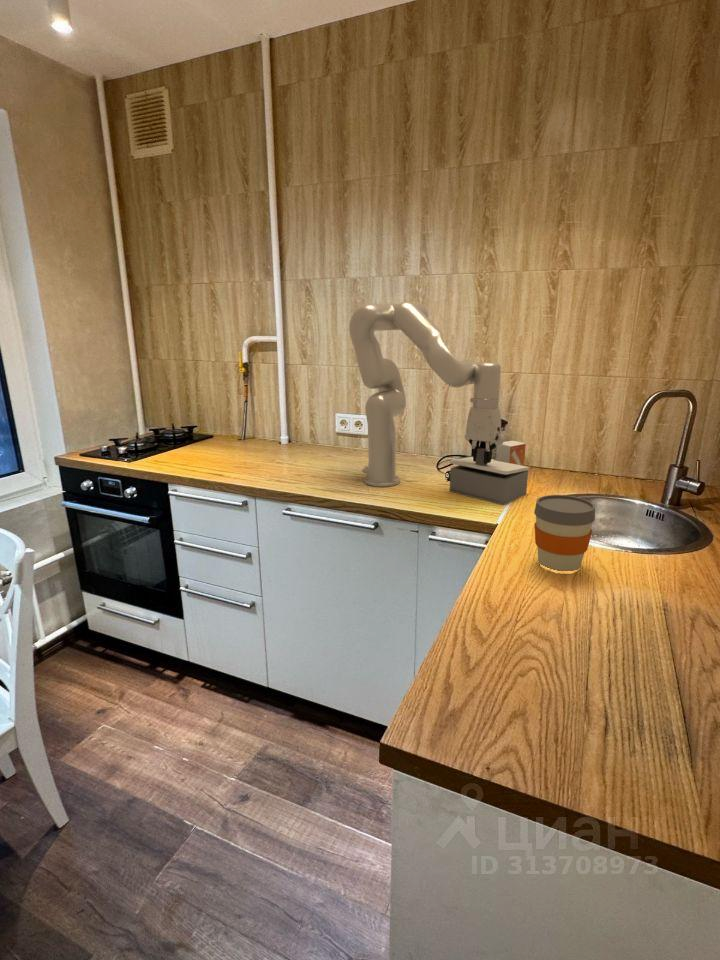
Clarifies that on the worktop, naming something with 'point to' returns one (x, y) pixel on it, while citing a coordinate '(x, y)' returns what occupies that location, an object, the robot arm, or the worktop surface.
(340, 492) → the worktop surface
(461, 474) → the grey hinged box
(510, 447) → the small box
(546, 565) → the reusable coffee cup
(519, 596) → the worktop surface
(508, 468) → the lid
